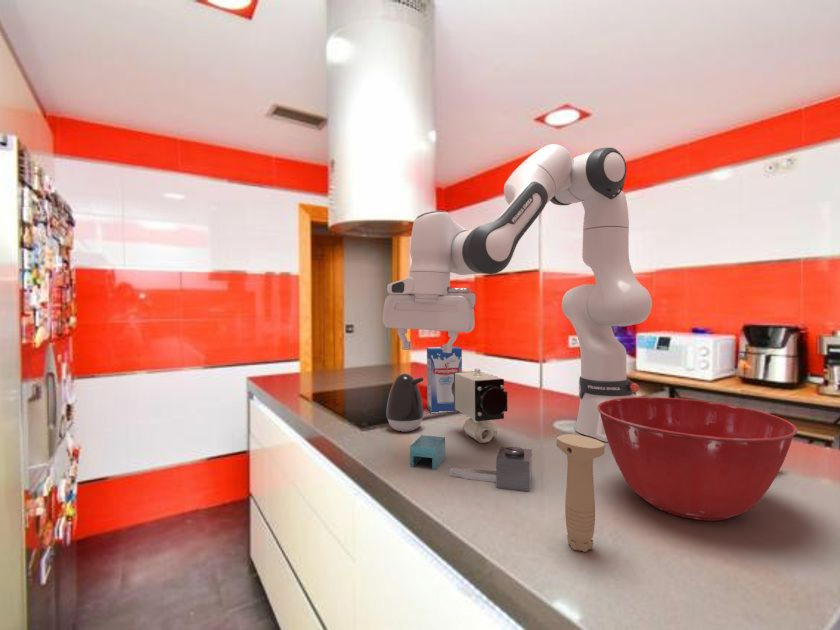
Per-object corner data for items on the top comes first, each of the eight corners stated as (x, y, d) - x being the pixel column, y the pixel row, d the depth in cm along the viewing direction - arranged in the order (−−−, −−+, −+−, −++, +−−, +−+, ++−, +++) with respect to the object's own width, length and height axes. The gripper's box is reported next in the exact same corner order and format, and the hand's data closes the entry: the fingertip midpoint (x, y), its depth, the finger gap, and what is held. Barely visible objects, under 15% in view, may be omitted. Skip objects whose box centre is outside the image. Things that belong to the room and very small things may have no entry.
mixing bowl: (652, 460, 96) (652, 389, 95) (824, 513, 72) (826, 418, 71) (564, 491, 81) (564, 407, 80) (746, 571, 56) (747, 451, 56)
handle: (590, 563, 58) (590, 450, 58) (550, 542, 64) (550, 438, 63) (610, 551, 61) (611, 443, 61) (571, 531, 67) (571, 432, 66)
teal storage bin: (421, 454, 101) (421, 435, 101) (445, 457, 99) (445, 437, 99) (410, 467, 93) (410, 446, 93) (435, 470, 92) (435, 448, 92)
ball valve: (513, 447, 105) (513, 373, 104) (481, 452, 102) (480, 375, 102) (479, 427, 122) (478, 363, 121) (450, 431, 119) (450, 365, 119)
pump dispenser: (417, 436, 115) (417, 377, 114) (380, 432, 118) (379, 375, 118) (429, 425, 124) (428, 371, 124) (394, 422, 128) (394, 370, 127)
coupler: (446, 482, 85) (446, 449, 85) (454, 468, 92) (454, 438, 92) (529, 491, 81) (529, 457, 80) (531, 477, 87) (531, 445, 87)
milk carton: (431, 413, 138) (430, 349, 137) (427, 409, 144) (426, 347, 143) (462, 411, 140) (462, 348, 139) (456, 407, 146) (456, 346, 145)
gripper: (480, 288, 95) (477, 353, 95) (393, 287, 102) (390, 347, 102) (472, 287, 89) (469, 356, 89) (380, 285, 97) (378, 348, 97)
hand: (426, 351), depth 96 cm, fingers open, 8 cm apart
